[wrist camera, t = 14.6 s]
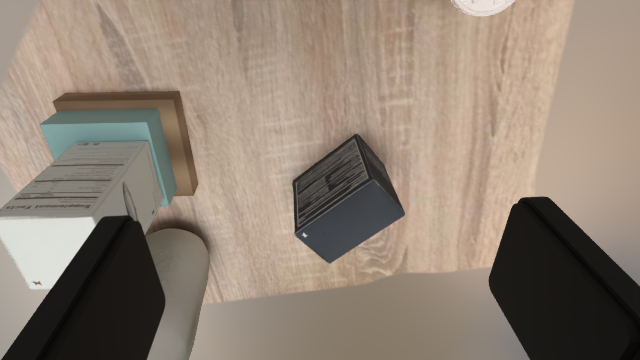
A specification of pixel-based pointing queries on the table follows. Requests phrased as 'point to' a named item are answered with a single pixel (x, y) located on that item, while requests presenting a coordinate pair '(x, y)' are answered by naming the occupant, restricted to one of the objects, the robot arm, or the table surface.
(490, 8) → the smoothie
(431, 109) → the table surface
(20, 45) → the table surface
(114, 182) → the supplement box
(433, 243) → the table surface
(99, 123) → the tower top
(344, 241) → the small box
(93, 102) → the tower base
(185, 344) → the glass bottle
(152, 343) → the robot arm
